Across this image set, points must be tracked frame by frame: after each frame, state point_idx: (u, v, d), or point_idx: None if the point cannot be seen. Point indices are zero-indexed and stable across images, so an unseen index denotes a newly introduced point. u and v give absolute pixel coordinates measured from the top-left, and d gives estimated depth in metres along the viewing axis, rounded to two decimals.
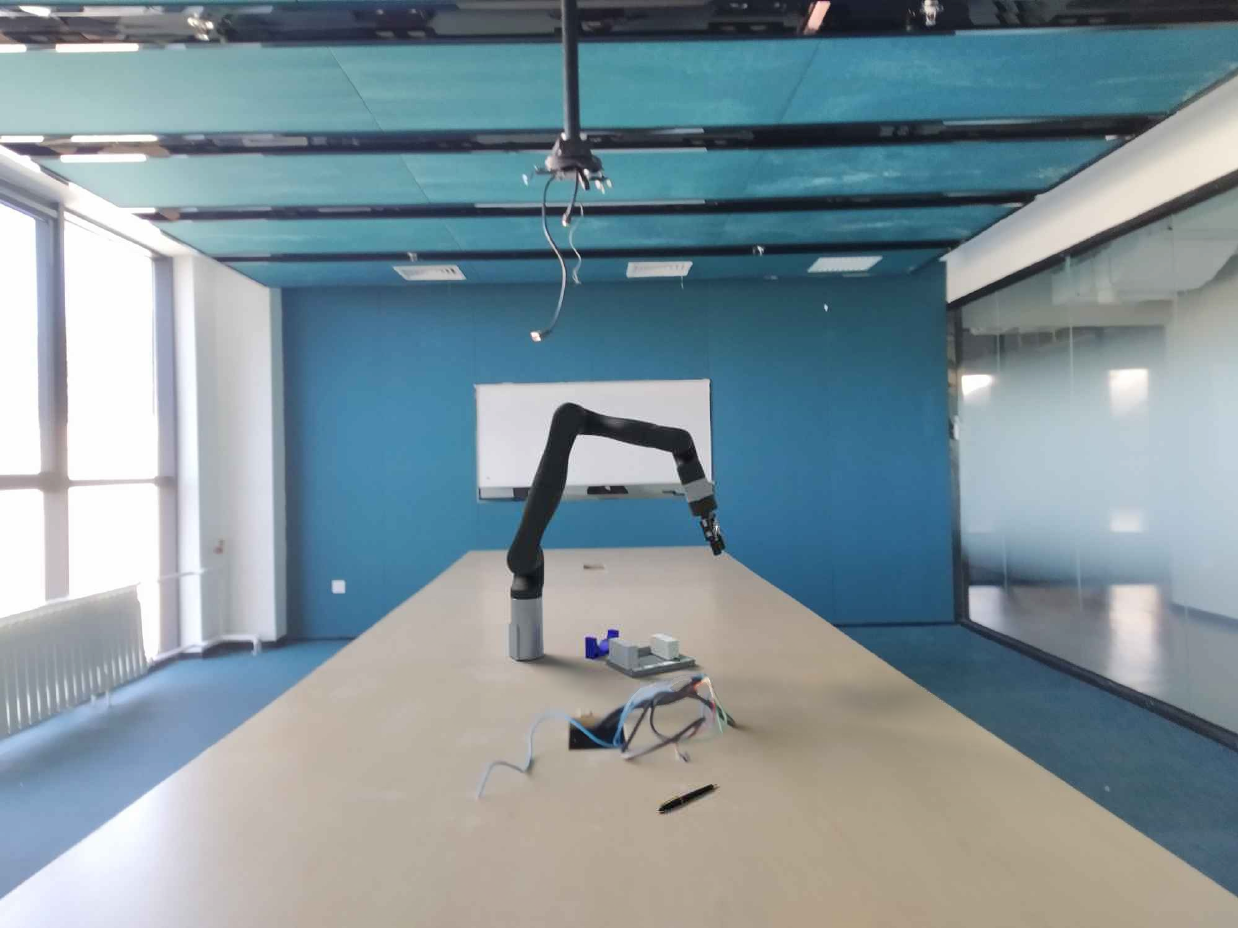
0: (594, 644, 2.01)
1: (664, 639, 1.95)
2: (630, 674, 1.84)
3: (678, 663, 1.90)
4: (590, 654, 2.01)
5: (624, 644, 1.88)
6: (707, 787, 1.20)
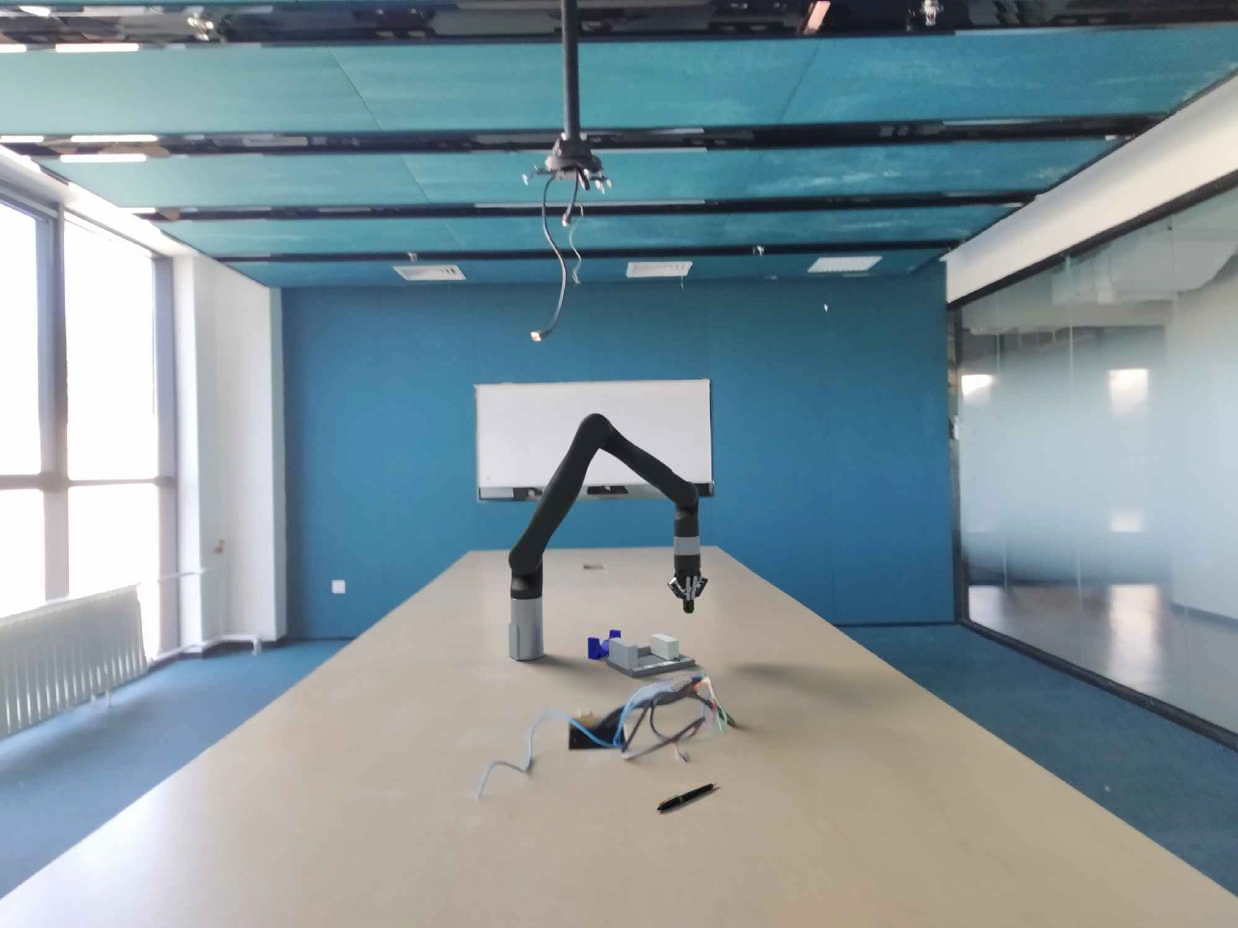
0: (597, 644, 2.01)
1: (664, 639, 1.95)
2: (630, 674, 1.84)
3: (678, 663, 1.90)
4: (592, 654, 2.01)
5: (624, 644, 1.88)
6: (707, 786, 1.20)
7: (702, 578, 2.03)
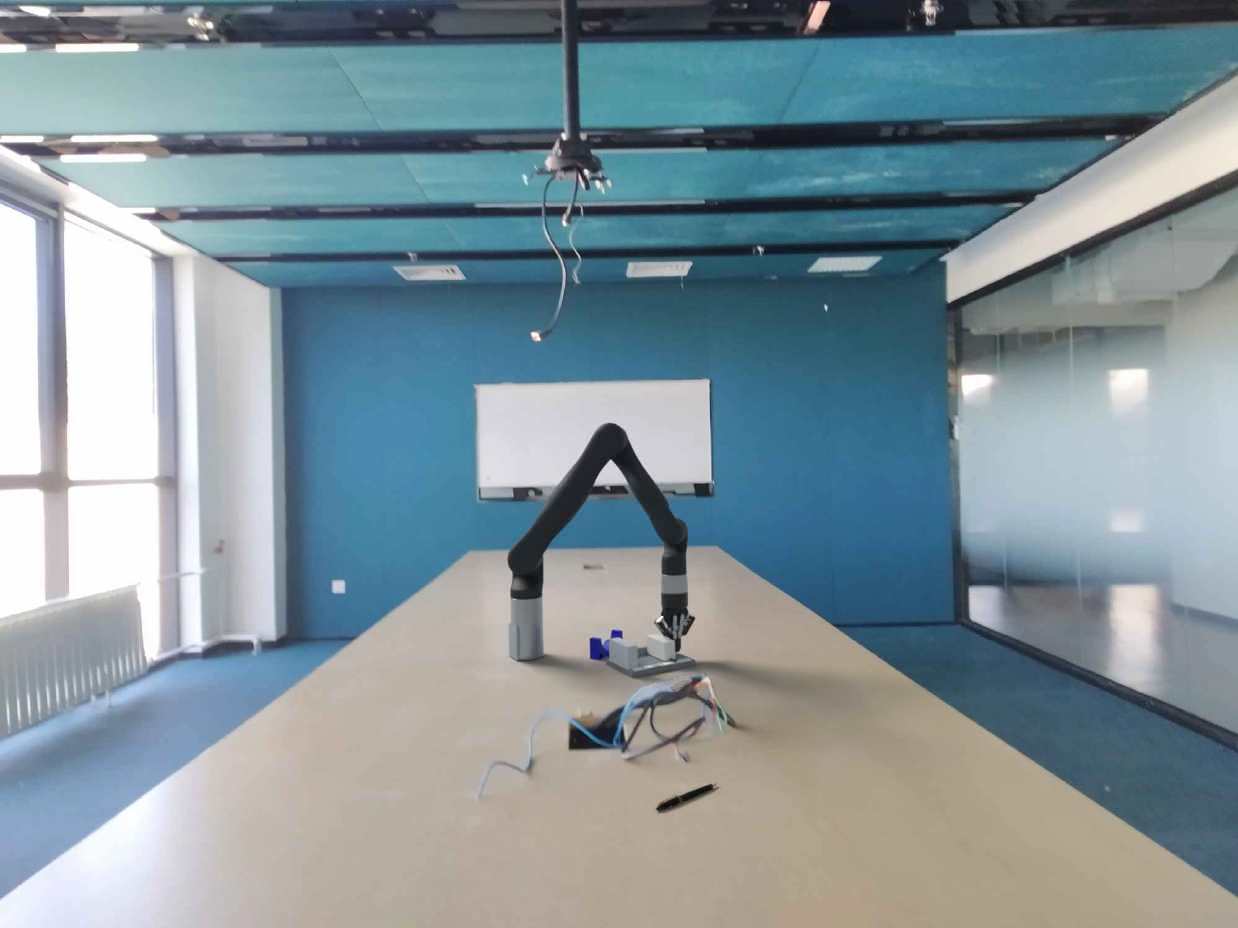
0: (599, 645, 2.00)
1: (660, 640, 1.94)
2: (630, 674, 1.84)
3: (678, 663, 1.90)
4: (594, 654, 2.00)
5: (624, 644, 1.88)
6: (707, 786, 1.20)
7: (689, 616, 2.01)
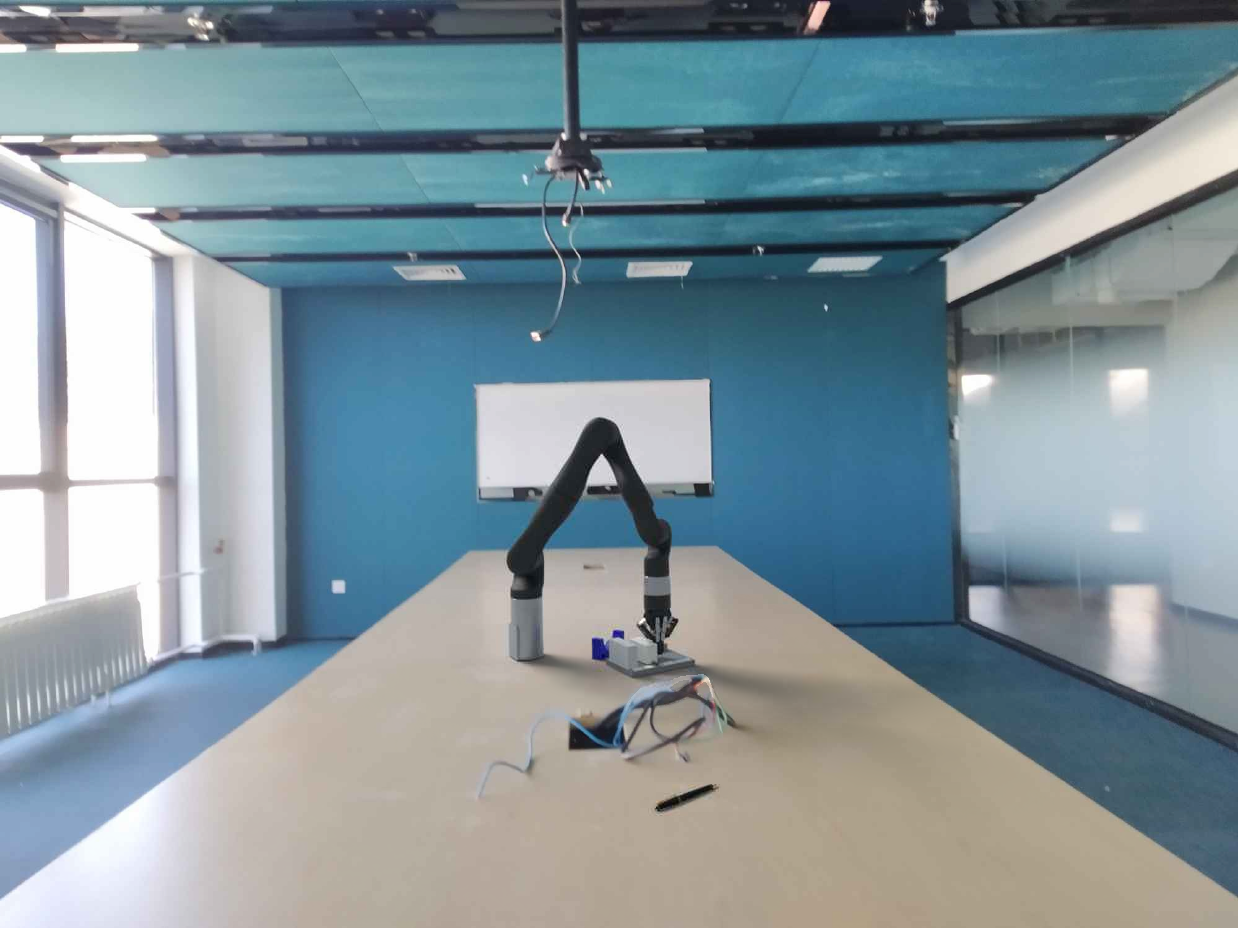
0: (601, 645, 2.00)
1: (642, 643, 1.91)
2: (630, 674, 1.84)
3: (678, 663, 1.90)
4: (596, 655, 2.00)
5: (624, 644, 1.88)
6: (706, 787, 1.20)
7: (672, 618, 1.98)
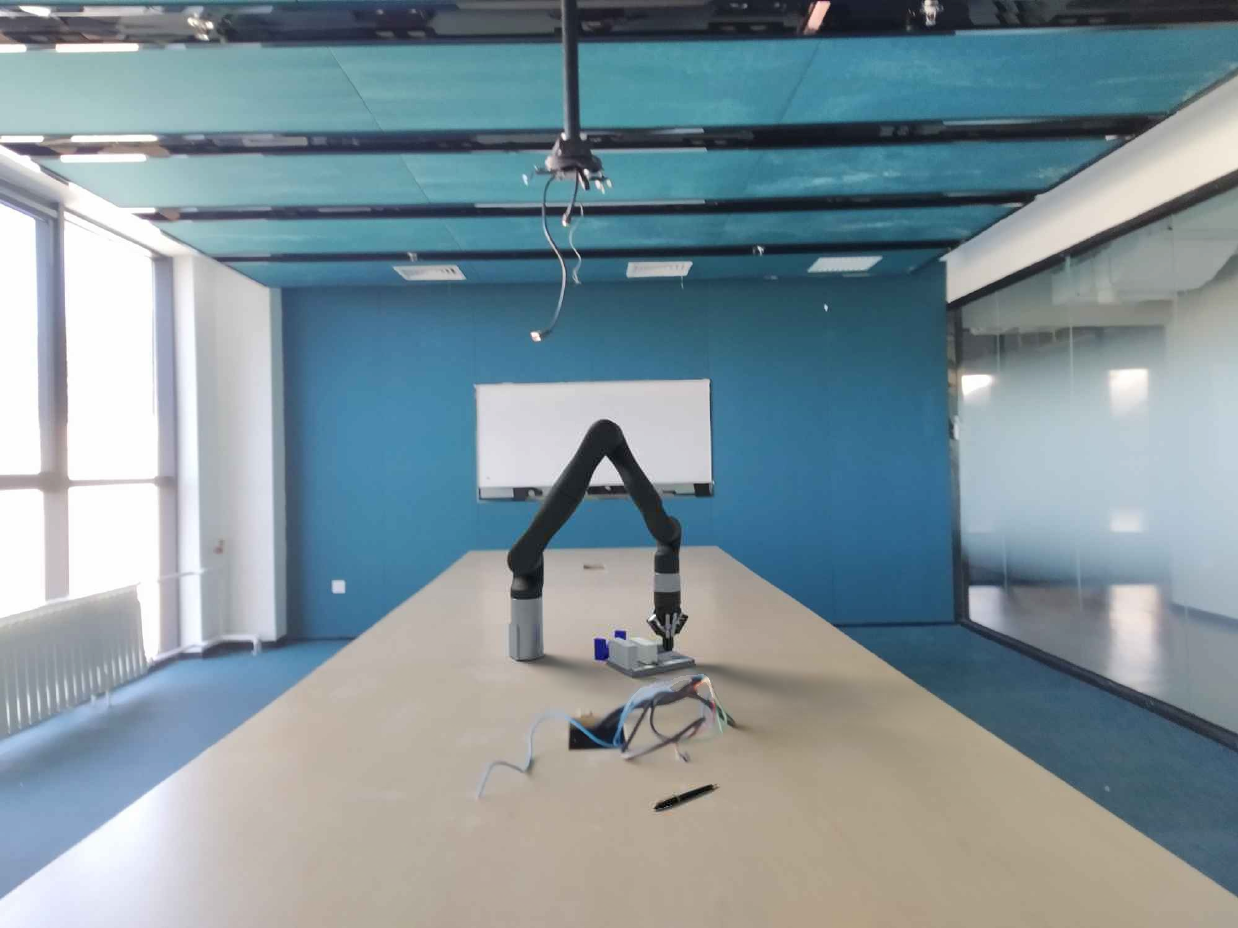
0: (604, 645, 1.99)
1: (642, 643, 1.91)
2: (630, 674, 1.84)
3: (678, 663, 1.90)
4: (599, 655, 2.00)
5: (624, 644, 1.88)
6: (706, 787, 1.20)
7: (682, 615, 1.99)
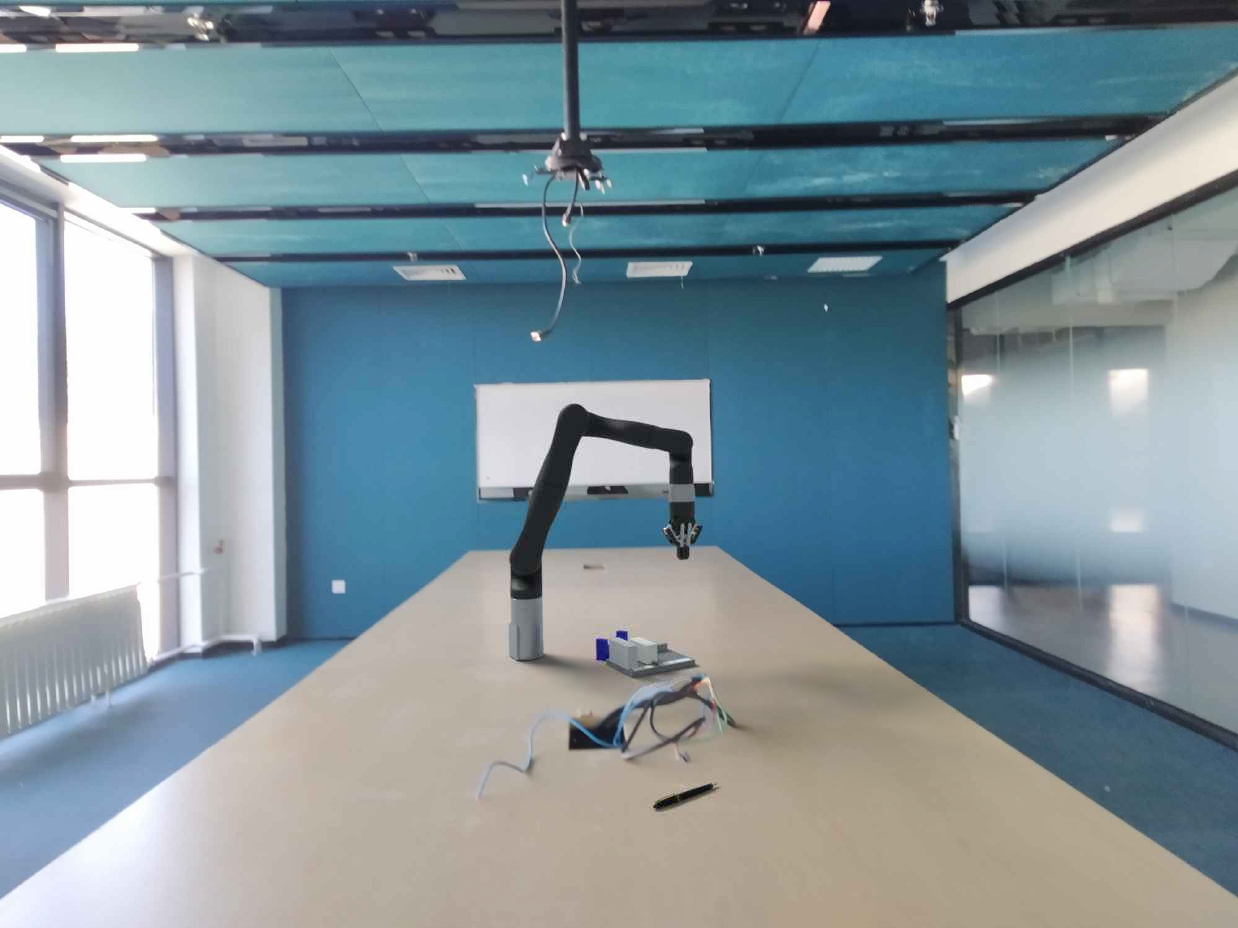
0: (605, 645, 1.99)
1: (642, 643, 1.91)
2: (630, 674, 1.84)
3: (678, 663, 1.90)
4: (601, 655, 1.99)
5: (624, 644, 1.88)
6: (706, 786, 1.21)
7: (697, 525, 2.07)
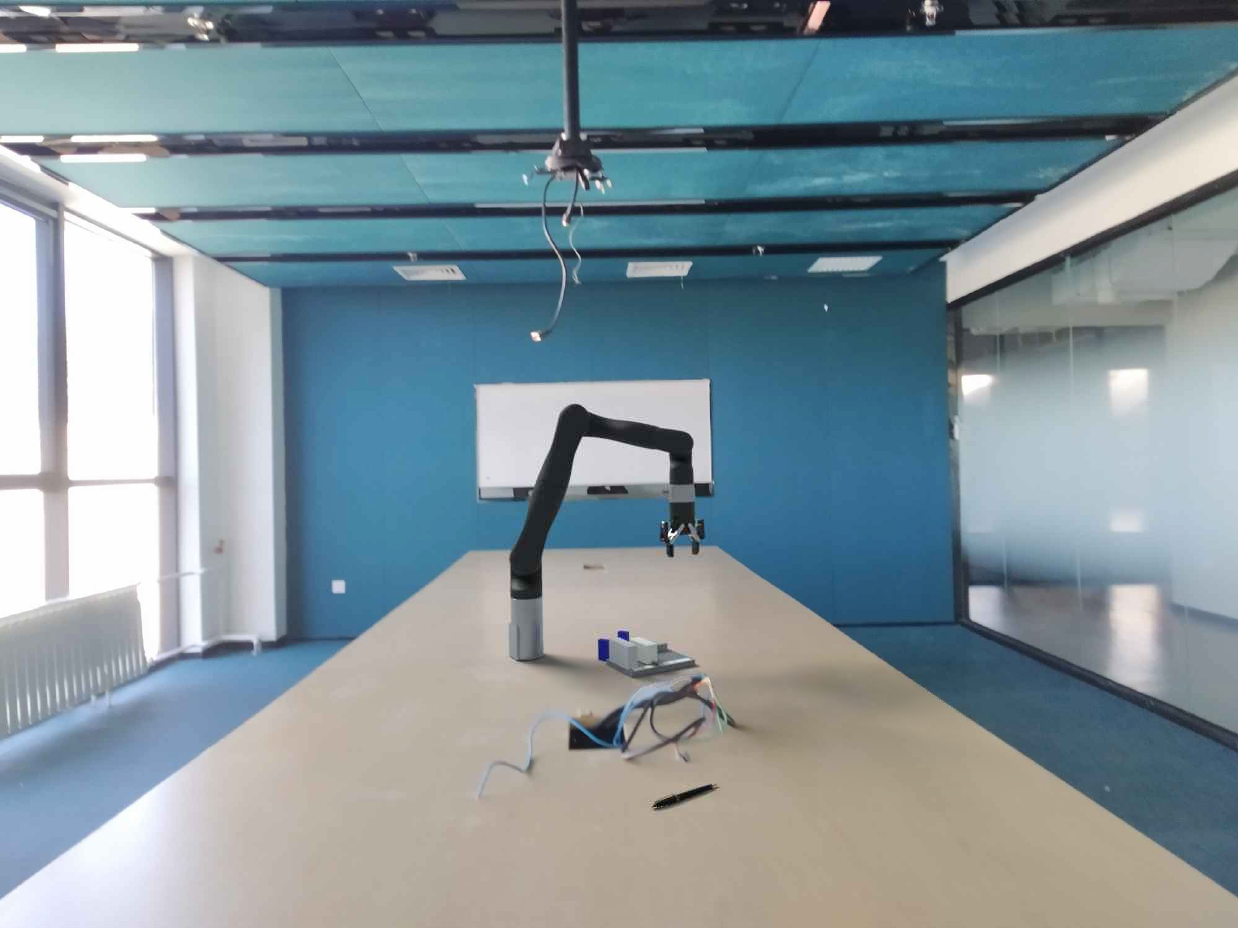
0: (607, 646, 1.99)
1: (642, 643, 1.91)
2: (630, 674, 1.84)
3: (678, 663, 1.90)
4: (603, 656, 1.99)
5: (624, 644, 1.88)
6: (706, 786, 1.21)
7: (698, 521, 2.08)
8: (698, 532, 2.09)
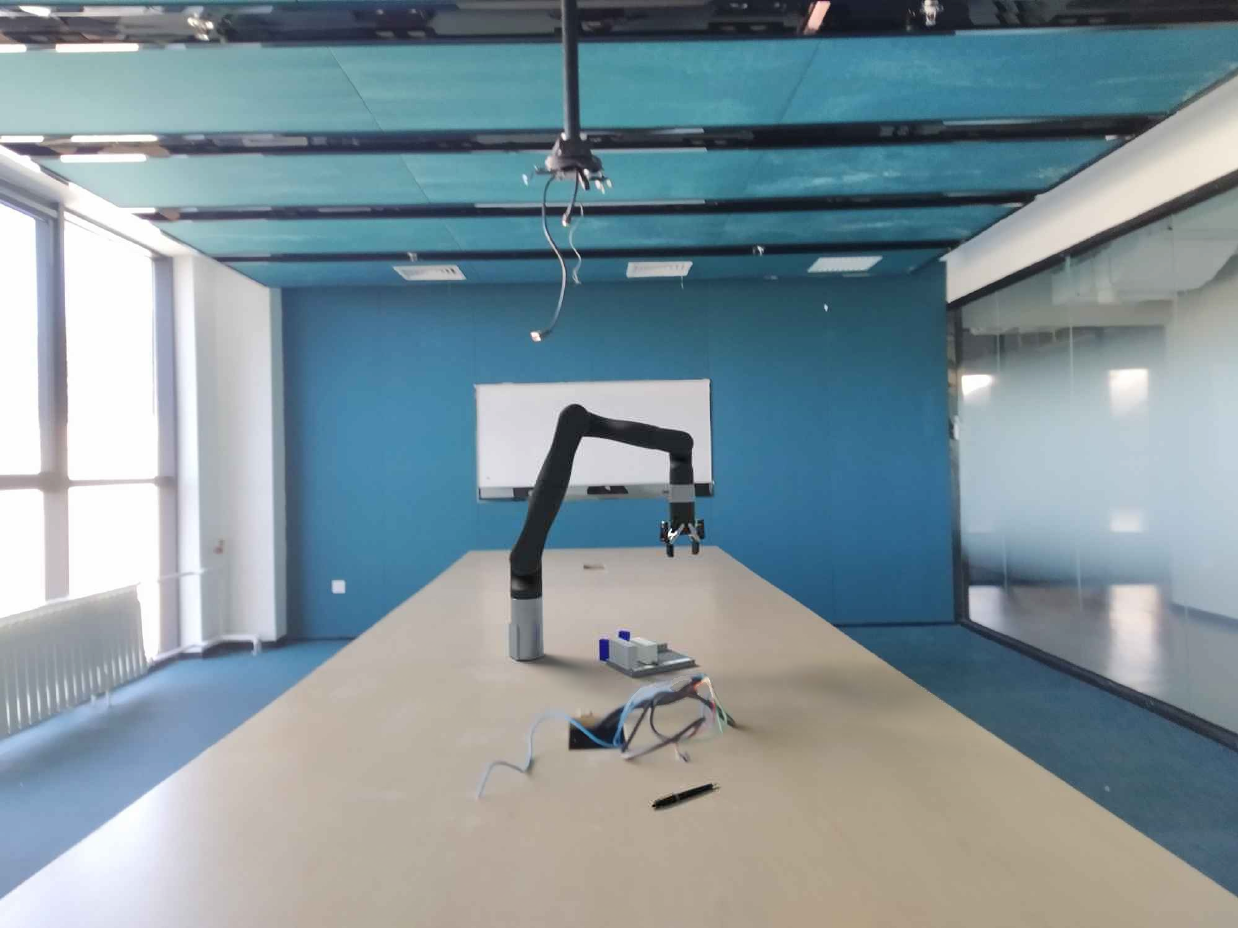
0: None
1: (642, 643, 1.91)
2: (630, 674, 1.84)
3: (678, 663, 1.90)
4: (604, 656, 1.99)
5: (624, 644, 1.88)
6: (706, 786, 1.21)
7: (698, 521, 2.08)
8: (698, 532, 2.09)
